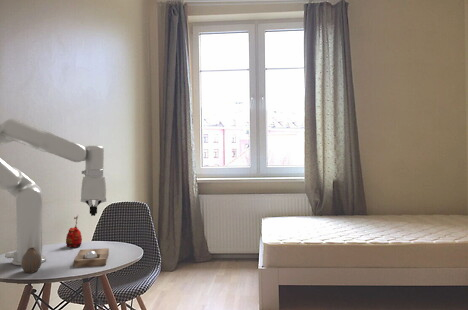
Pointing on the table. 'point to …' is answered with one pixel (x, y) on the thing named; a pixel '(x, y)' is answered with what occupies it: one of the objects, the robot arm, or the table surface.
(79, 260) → the board
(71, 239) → the red clay folk toy
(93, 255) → the ball
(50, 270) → the table surface
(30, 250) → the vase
